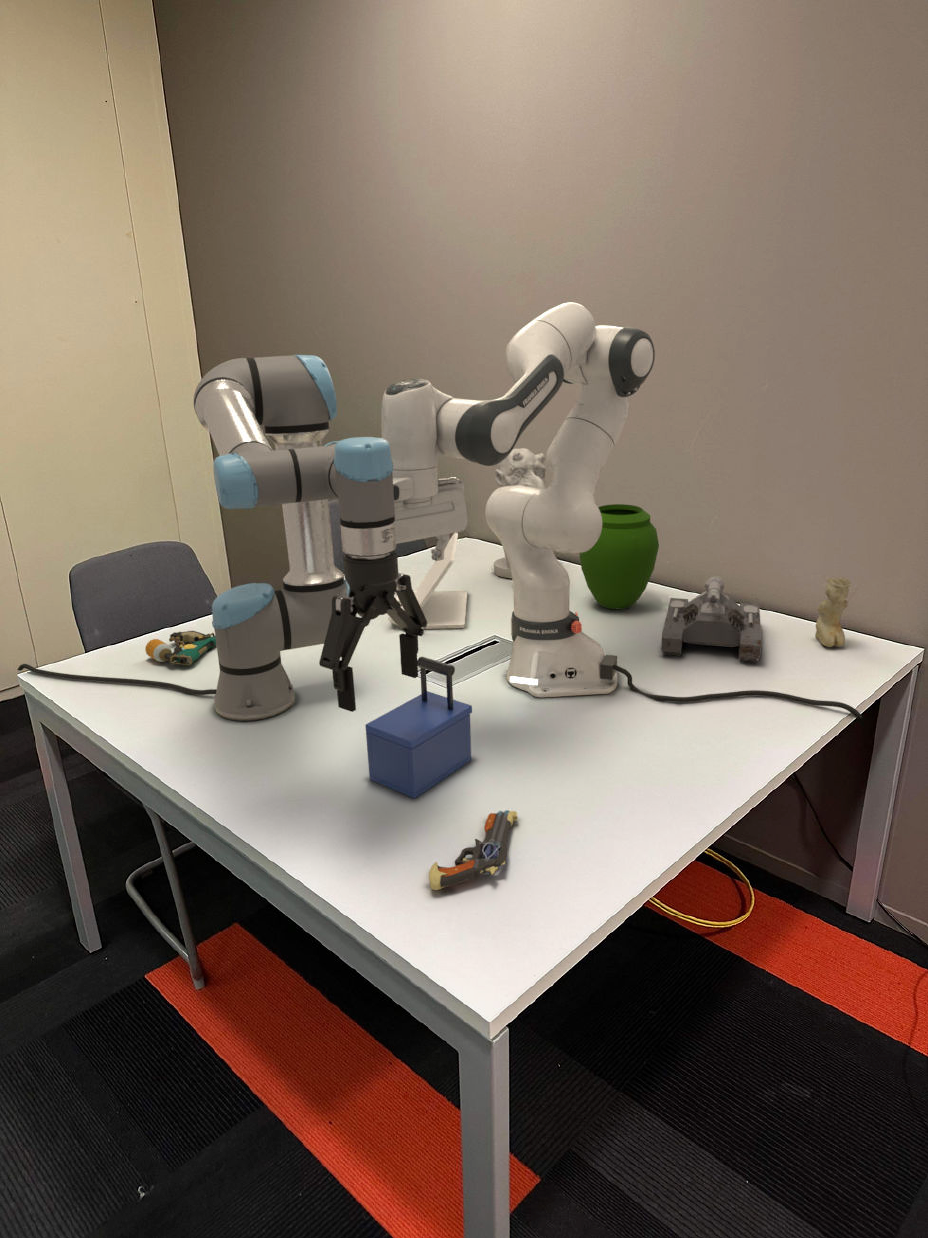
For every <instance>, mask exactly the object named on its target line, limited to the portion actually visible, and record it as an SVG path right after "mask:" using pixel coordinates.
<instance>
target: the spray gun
mask: <svg viewBox="0 0 928 1238" xmlns="http://www.w3.org/2000/svg"><path fill="white" fill-rule="evenodd" d="M168 641H169V642H174V643H175V647H174V648H173V651H172V648H171V646H170V645H169V644H167V643H165V642H164V641H163V640H160V639H158V638H152V639H150V640H149V641H148V642H147V643H146V645H145V649H144V650H145V654H146V655H147V656H148V657H149V658H151V659H153V660H155V661H156V662H159V663H165V662H167V661H168V662H169V663H170V664H171V665H183V666H191V665H192V664H193V663H194V662H195V661H196V660H198V659H199V658H200V656H201V655H203V654H204V653H206V652H207V651H208V650H210V649H211V648H213V647H215V646H217V645H216V637H215V632H211V633H207V634H206V633H202V632H199V631H195V630H187V631H178V632H173V633H171V634H170V635H169V639H168ZM187 642H188V643H187ZM185 643H187V644H185Z"/></svg>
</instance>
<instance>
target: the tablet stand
mask: <svg viewBox="0 0 928 1238" xmlns="http://www.w3.org/2000/svg"><path fill="white" fill-rule="evenodd" d="M458 537H459V532H455V533H452V535H451V537H450V540H449V542H448V544H447V546H446V548H445V550H444V559H443V560H440V561H435V560H434V562H433V564H432V565H431V567H430V568H429V569H428V571H427V573H426V574H425V575H424V577H423V579H422V580H421V581H420V583H419V584H418V585H417V587H416V589H415V590H413V592H414V594H415V596H416V598H417V600H418V603H419V605H420V607H421V609H422V611H423V613H424V616H425V618H426V620H427V626H426V627H425V628H424V627H422V628H421V629H423V630H426V629H427V630H429V629H430V630H431V629H435V630H436V629H437V630H438V629H464V628H465V627H466V618H467V617H466V616H467V605H468V591H467V590H436V589H437V587H438V585H440V582H441V581H442V580H443V578H444V577H445V575H446V574H447V573H448V571H449V570H450V569H451V567H452V566H453V564H454V562H455V558H456V553H457V545H458ZM395 598H396V600H397V601H398V602H399V603H400V604H401V602H400V600H399V598H398V596H397V594H396V595H395ZM401 608H402V609H403V607H402V605H401ZM403 610H404V609H403ZM388 621H389V622H391V623H392V624H394V625H396V626H398V625H397V624H396V623H395V622H394V621H393V619H392V618H391V617H390V616H389V617H388ZM398 627H399V626H398Z"/></svg>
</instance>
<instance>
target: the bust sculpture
mask: <svg viewBox="0 0 928 1238" xmlns="http://www.w3.org/2000/svg"><path fill="white" fill-rule="evenodd" d="M545 461H546V456H545V455H544V454H543V452H541V453H540V452H539V453H537V454H535V453H533V452H532V451H531V450H529V449H528V448H525V447H522V448H513V450H512V451H511V453H510V454H509V455H508V456H507V457H506V458H505V459H504V460H503V461H502V462H500V463H499V464H496V468H495V471H494V480H495V482H496V484H497V486H498V487H505V486H515V485H524V486H529V487H534V488H540V489H547V487H546V485H547V482H546V471H547V470H546V469H547V468H546V466H545V464H544V462H545ZM503 553H504V557H502V558H498V559H496V560H495V561H494V562H493V573H494V574H495V575H496V576H497V577H500V578H506V579H512V573H511V569H510V565H509V562H508V559H507V556H506V553H505V551H504V550H503Z"/></svg>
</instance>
